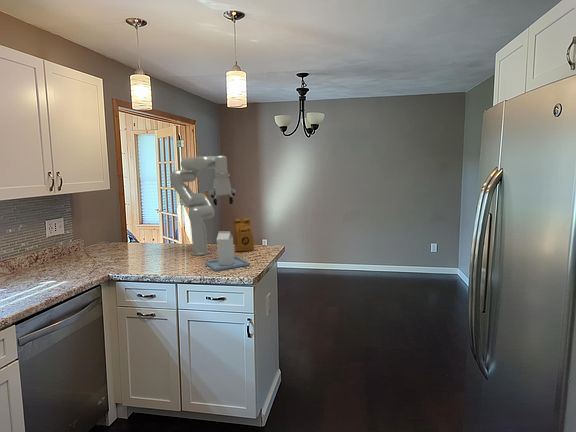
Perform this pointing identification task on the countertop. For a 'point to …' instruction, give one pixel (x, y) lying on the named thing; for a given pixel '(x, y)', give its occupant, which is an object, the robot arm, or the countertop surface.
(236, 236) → the coffee package
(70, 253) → the countertop surface
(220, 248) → the milk carton
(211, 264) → the tray
